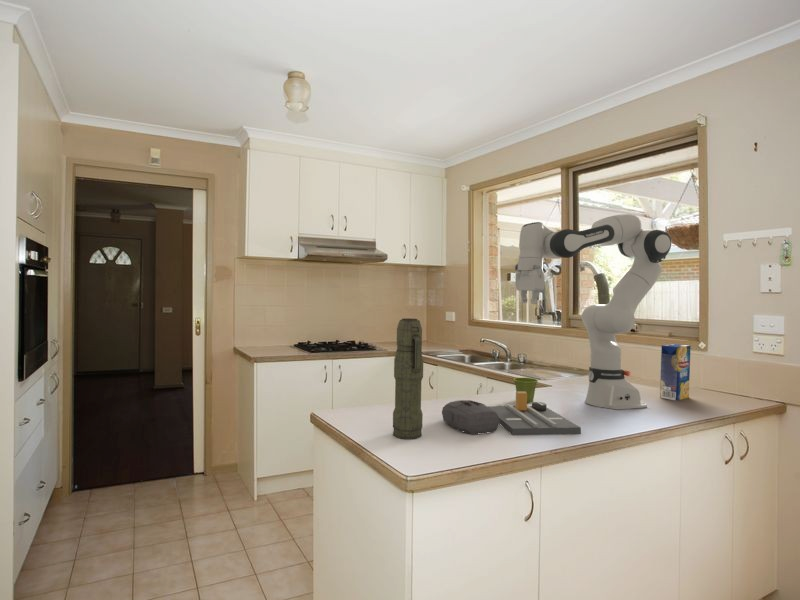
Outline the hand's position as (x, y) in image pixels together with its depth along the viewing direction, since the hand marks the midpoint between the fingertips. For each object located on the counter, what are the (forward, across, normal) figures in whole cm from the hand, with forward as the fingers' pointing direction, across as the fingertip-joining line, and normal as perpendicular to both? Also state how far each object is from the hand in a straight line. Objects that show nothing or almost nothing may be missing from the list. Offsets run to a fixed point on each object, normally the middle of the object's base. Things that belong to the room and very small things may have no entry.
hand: (528, 303), depth 186 cm
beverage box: (+38, +16, -71) cm, 83 cm away
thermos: (+40, -31, +48) cm, 70 cm away
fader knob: (+37, -11, +5) cm, 39 cm away
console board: (+39, -19, +5) cm, 44 cm away
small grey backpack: (+40, -22, +27) cm, 53 cm away
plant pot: (+39, +11, -4) cm, 41 cm away
